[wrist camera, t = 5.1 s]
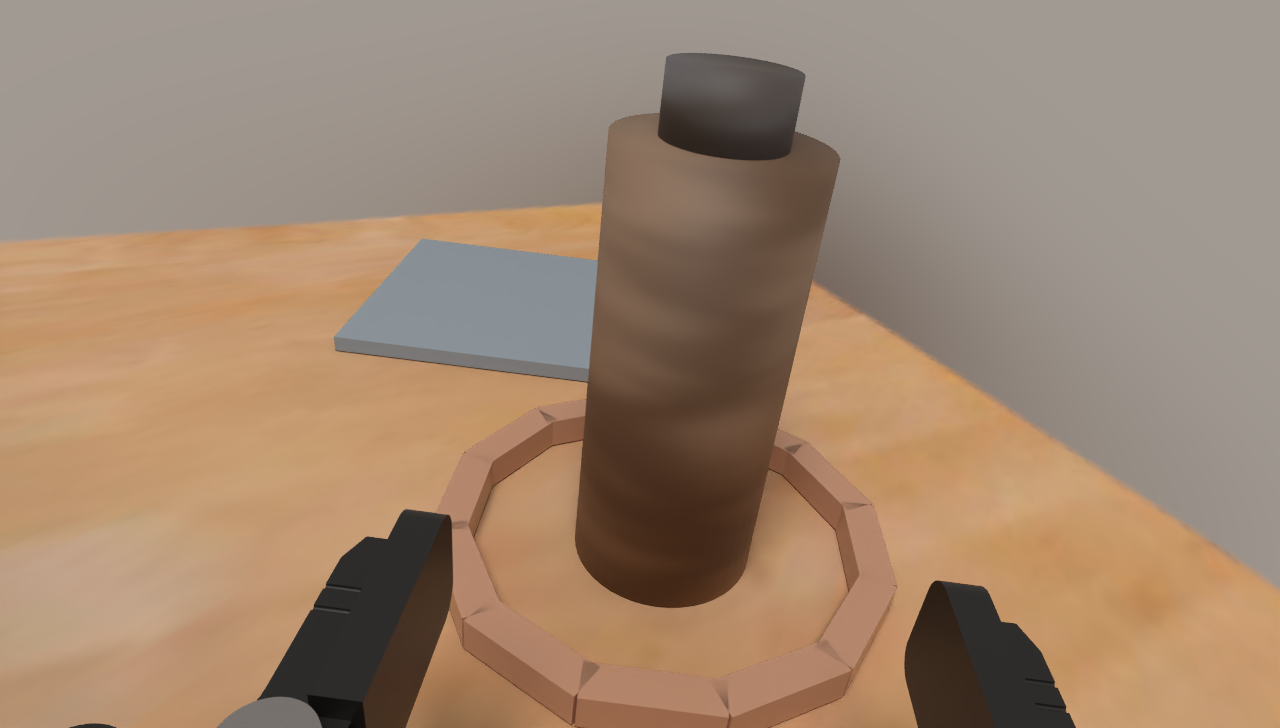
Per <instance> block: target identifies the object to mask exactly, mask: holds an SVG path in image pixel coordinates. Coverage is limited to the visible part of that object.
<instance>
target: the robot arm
mask: <svg viewBox="0 0 1280 728" xmlns="http://www.w3.org/2000/svg"><path fill="white" fill-rule="evenodd" d="M452 590H453V549H452V520H451V517H450V515H446V514H439V513H431V512H423V511H416V510H408V509H406V510H404V511H403V512H402V513H401V514H400V516H399V518H398V520H397V522H396V524H395V526H394V528H393V530H392V532H391V533H390V535H389V537H388V539H382V538H374V537H366V538H364V539H363V540H362V541H361V542H359V543H358V544H357V545H356V546H355V547H353V548H352V549H351V550H350V551H348V552H347V553H346V554H345V555H344V556H342V557H341V559H340V560H339V562H338V564H337V565H336V567H335V569H334V571H333V572H332V574H331V576H330V578H329V579H328V581H327V583H326V587H325V589H323V590H322V591H321V593H320V595H319V597H318V598H317V600H316V602H315V604H314V608H313V610H311V611H310V612H309V614H308V616H307V617H306V619H305V621H304V623H303V624H302V626H301V628H300V630H299V631H298V633H297V635H296V637H295V638H294V640H293V642H292V643H291V645H290V647H289V649H288V650H287V652H286V654H285V656H284V657H283V659H282V661H281V663H280V664H279V666H278V668H277V669H276V671H275V673H274V675H273V676H272V678H271V680H270V682H269V683H268V685H267V687H266V689H265V690H264V691H263V693H262V694H261V696H260V697H259V698H258V700H257V701H255V702H252V703H250V704H248V705H246V706H243V707H242V708H240V709H238V710H237V711H235V712H233V713H232V714H231V715H230V716H228V717H227V718H226V719H225V720H224V721H223V722H222V723H221V724H220V725H219V726H218V727H217V728H405V727H406V725H407V722H408V719H409V717H410V714H411V711H412V709H413V706H414V703H415V701H416V698H417V695H418V693H419V690H420V687H421V685H422V682H423V679H424V677H425V674H426V671H427V669H428V666H429V663H430V661H431V658H432V655H433V653H434V650H435V647H436V645H437V642H438V639H439V637H440V634H441V631H442V629H443V626H444V623H445V620H446V618H447V614H448V611H449V607H450V602H451V597H452ZM905 678H906V683H907V687H908V691H909V694H910V698H911V702H912V706H913V710H914V713H915V717H916V721H917V725H918V728H1076V727H1075V725H1074V723H1073V720H1072V718H1071V716H1070V714H1069V713H1066V705H1065V703H1064V701H1063V699H1062V696H1061V694H1060V692H1059V690H1058V688H1055V686H1054V683H1055V681H1054V679H1053V677H1052V675H1051V672H1050V670H1049V668H1048V666H1047V664H1046V662H1045V659H1044V657H1043V655H1042V653H1041V651H1040V650H1039V649H1038V648H1037V647H1036V646H1035V644H1034V643H1033V642H1032V641H1031V640H1030V639H1029V638H1028V637H1027V635H1026V634H1025V633H1024V632H1023V631H1022V630H1021V629H1020V628H1019V626H1018V625H1017V624H1014V623H1006V622H1001V620H1000V618H999V616H998V613H997V611H996V609H995V606H994V604H993V601H992V599H991V597H990V595H989V593H988V591H987V590H986V589H985V588H984V587H982V586H975V585H968V584H960V583H953V582H945V581H934V582H933V583H932V584H931V586H930V588H929V590H928V593H927V595H926V598H925V600H924V602H923V605H922V607H921V610H920V612H919V615H918V617H917V620H916V622H915V625H914V627H913V630H912V632H911V635H910V637H909V640H908V642H907V646H906V651H905ZM70 728H116V727H113V726H110V725H105V724H84V725H78V726H74V727H70Z"/></svg>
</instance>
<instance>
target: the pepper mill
mask: <svg viewBox="0 0 1280 728" xmlns="http://www.w3.org/2000/svg"><path fill="white" fill-rule="evenodd" d="M804 81H805V74H804V73H802V72H801V71H799V70H797V69H794V68H791V67H788V66H784V65H780V64H776V63H772V62H768V61H762V60H757V59H751V58H745V57H738V56H730V55H719V54H706V53H704V54H703V53H680V54H672V55H669V56H667V57H666V65H665V73H664V81H663V82H664V83H663V90H662V99H661V108H660V113H654V114H642V115H635V116H629V117H626V118H622V119H620V120H617V121H615V122H614V123H612V124H611V125H610V127H609V131H608V143H607V155H606V168H605V180H604V181H605V182H604V192H603V204H602V216H601V229H600V241H599V253H598V265H597V277H596V289H595V302H594V314H593V326H592V338H591V350H590V363H589V375H588V387H587V399H586V411H585V424H584V436H583V448H582V460H581V472H580V484H579V497H578V509H577V521H576V533H575V542H576V548H577V552H578V555H579V557H580V559H581V562H582V563H583V565H584V566H585V568H586V569H587V571H588V572H589V573H590V574H591V575H592V576H593V577H594V578H595V579H596V580H597V581H598V582H599V583H601V584H602V585H603V586H605V587H606V588H608V589H609V590H611V591H612V592H614V593H616V594H618V595H620V596H622V597H624V598H627V599H629V600H632V601H635V602H639V603H642V604H646V605H652V606H658V607H686V606H694V605H698V604H702V603H705V602H708V601H710V600H713V599H715V598H717V597H719V596H721V595H723V594H724V593H725V592H727V591H728V590H729V589H731V588H732V587H733V586H734V585H735V584H736V583H737V581H738V580H739V579H740V577H741V576H742V574H743V571H744V569H745V566H746V562H747V557H748V553H749V549H750V545H751V540H752V536H753V532H754V527H755V523H756V519H757V515H758V510H759V506H760V502H761V497H762V493H763V489H764V485H765V480H766V476H767V472H768V467H769V463H770V459H771V455H772V450H773V446H774V442H775V437H776V433H777V429H778V425H779V420H780V416H781V412H782V407H783V403H784V399H785V395H786V390H787V386H788V382H789V377H790V373H791V369H792V365H793V360H794V356H795V352H796V347H797V343H798V339H799V335H800V330H801V326H802V322H803V317H804V313H805V309H806V305H807V300H808V296H809V292H810V287H811V283H812V279H813V274H814V270H815V266H816V262H817V257H818V253H819V249H820V245H821V240H822V236H823V232H824V227H825V223H826V219H827V214H828V210H829V206H830V202H831V197H832V193H833V189H834V184H835V180H836V176H837V172H838V167H839V163H840V157H839V155H838V153H837V152H836V151H835V150H833V149H832V148H831V147H829V146H828V145H826V144H824V143H822V142H820V141H818V140H816V139H814V138H811V137H809V136H807V135H804V134H801V133H798V132H795V126H796V121H797V116H798V111H799V106H800V101H801V96H802V91H803V86H804Z"/></svg>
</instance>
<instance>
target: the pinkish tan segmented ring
mask: <svg viewBox="0 0 1280 728" xmlns="http://www.w3.org/2000/svg"><path fill="white" fill-rule="evenodd" d="M585 411H586V399H582V400H577V401H571V402H565V403H559V404H553V405H547V406H541V407H537V409H536V408H534V409H533V410H531V411H529V412H528V413H526V414H525V415H523V416H521V417H520V418H518V419H516V420H515V421H513V422H512V423H510V424H508V425H507V426H505V427H503V428H502V429H500V430H499V431H497V432H495V433H494V434H492V435H490V436H489V437H487V438H486V439H484V440H482V441H481V442H479V443H478V444H476V445H474V446H473V447H471V448H469V449H468V450H466V451H465V452H464V453H463V454H462V456H461V459H460V461H459V463H458V465H457V467H456V470H455V472H454V474H453V476H452V478H451V481H450V483H449V485H448V487H447V489H446V492H445V494H444V496H443V498H442V500H441V503H440V505H439V507H438V509H437V511H436V513H439V514H446V515H450V517H451V520H452V549H453V590H452V597H451V602H450V607H449V608H450V611H451V614H452V617H453V620H454V623H455V626H456V629H457V632H458V635H459V638H460V641H461V644H462V646H464V649H466V650H467V651H468V652H470V653H471V654H473V655H474V656H475V657H477V658H478V659H480V660H481V661H482V662H484V663H485V664H487V665H488V666H489V667H491V668H492V669H494V670H495V671H496V672H498V673H499V674H501V675H502V676H503V677H505V678H506V679H508V680H509V681H510V682H512V683H513V684H515V685H516V686H517V687H519V688H520V689H522V690H523V691H524V692H526V693H527V694H528V695H530V696H531V697H533V698H534V699H535V700H537V701H538V702H540V703H541V704H542V705H544V706H545V707H547V708H548V709H549V710H551V711H552V712H554V713H555V714H556V715H558V716H559V717H561V718H562V719H563V720H565V721H566V722H568V723H569V724H570V725H572V724H573V723H574V721H575V726H576V727H583V728H769V727H771V726H773V725H776V724H778V723H781V722H783V721H786V720H788V719H791V718H793V717H795V716H798V715H800V714H803V713H805V712H808V711H810V710H813V709H815V708H817V707H820V706H822V705H825V704H827V703H830V702H832V701H834V700H837V699H839V698H842V696H844V694H845V693H846V691H847V689H848V687H849V685H850V683H851V681H852V679H853V677H854V676H855V674H856V672H857V670H858V668H859V666H860V664H861V662H862V660H863V659H864V657H865V655H866V653H867V651H868V649H869V647H870V645H871V643H872V642H873V640H874V638H875V636H876V634H877V632H878V630H879V628H880V626H881V625H882V623H883V621H884V619H885V617H886V615H887V613H888V611H889V608H890V605H891V603H892V600H893V597H894V594H895V592H896V589H897V583H896V579H895V576H894V573H893V569H892V566H891V562H890V559H889V556H888V552H887V549H886V545H885V542H884V539H883V535H882V532H881V528H880V525H879V521H878V518H877V515H876V511H875V508H874V505H872V504H873V503H872V502H871V501H869V500H868V499H867V498H866V497H865V496H864V495H863V494H862V493H861V492H860V491H859V490H858V489H857V488H856V487H855V486H854V485H853V484H851V483H850V482H849V481H848V480H847V479H846V478H845V477H844V476H843V475H842V474H841V473H840V472H839V471H838V470H837V469H836V468H835V467H833V466H832V465H831V464H830V463H829V462H828V461H827V460H826V459H825V458H824V457H823V456H822V455H821V454H820V453H819V452H818V451H817V450H815V449H814V448H813V447H812V446H811V445H810V444H809V443H808V442H807V443H806V441H805V440H802V439H800V438H798V437H795V436H793V435H791V434H788V433H786V432H784V431H781V430H779V429H777V433H776V437H775V442H774V446H773V450H772V455H771V459H770V463H769V467H768V468H769V469H771V470H773V471H776V472H778V473H780V474H782V475H783V476H784V477H785V478H786V479H787V480H788V481H789V482H790V483H791V484H792V485H793V486H794V487H795V488H796V489H797V490H798V491H799V492H800V493H801V494H802V495H803V497H804V498H805V499H806V500H807V501H808V502H809V503H810V504H811V505H812V506H813V507H814V508H815V509H816V510H817V511H818V512H819V513H820V514H821V515H822V516H823V517H824V518H825V519H826V520H827V522H828V523H829V524H830V525H831V526H832V527H833V528H834V529H835V530H836V534H837V538H838V543H839V547H840V552H841V556H842V561H843V566H844V570H845V575H846V579H847V584H848V589H849V593H848V595H847V596H846V598H845V600H844V601H843V603H842V605H841V606H840V608H839V609H838V611H837V613H836V614H835V616H834V618H833V619H832V621H831V623H830V624H829V626H828V627H827V629H826V631H825V632H824V634H823V636H822V637H821V639H820V641H819V642H817V643H814V644H811V645H809V646H806V647H803V648H800V649H798V650H795V651H792V652H789V653H787V654H784V655H781V656H778V657H776V658H773V659H770V660H767V661H765V662H762V663H759V664H757V665H754V666H751V667H748V668H746V669H743V670H740V671H737V672H735V673H732V674H729V675H726V676H724V677H721V678H710V677H703V676H695V675H687V674H679V673H672V672H664V671H656V670H649V669H641V668H633V667H625V666H618V665H610V664H602V663H595V662H592V661H590V660H589V659H587V658H586V657H584V656H583V655H581V654H580V653H578V652H577V651H575V650H573V649H572V648H570V647H569V646H567V645H566V644H564V643H563V642H561V641H560V640H558V639H557V638H555V637H554V636H552V635H551V634H549V633H548V632H546V631H545V630H543V629H542V628H540V627H539V626H537V625H536V624H534V623H532V622H531V621H529V620H528V619H526V618H525V617H523V616H522V615H520V614H519V613H517V612H516V611H514V610H513V609H511V608H510V607H508V606H507V605H505V604H504V603H502V602H501V601H499V599H498V596H497V594H496V592H495V589H494V587H493V584H492V582H491V580H490V577H489V575H488V572H487V570H486V567H485V565H484V563H483V560H482V558H481V555H480V553H479V550H478V548H477V546H476V543H475V541H474V538H473V537H474V534H475V532H476V529H477V526H478V524H479V521H480V518H481V516H482V513H483V510H484V508H485V505H486V502H487V500H488V497H489V494H490V492H491V489H492V486H494V485H495V484H497V483H498V482H500V481H501V480H502V479H504V478H505V477H507V476H508V475H510V474H511V473H513V472H514V471H516V470H517V469H518V468H520V467H521V466H523V465H524V464H526V463H527V462H529V461H530V460H532V459H533V458H534V457H536V456H537V455H539V454H540V453H542V452H543V451H545V450H546V449H547V448H549V447H550V446H552V445H557V444H562V443H567V442H572V441H577V440H583V436H584V424H585Z"/></svg>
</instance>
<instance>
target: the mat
mask: <svg viewBox="0 0 1280 728" xmlns="http://www.w3.org/2000/svg"><path fill="white" fill-rule="evenodd" d="M597 265H598V261H597V260H589V259H581V258H573V257H565V256H557V255H549V254H541V253H532V252H524V251H516V250H508V249H500V248H492V247H484V246H476V245H468V244H460V243H452V242H444V241H436V240H428V239H421V240H420V241H419V243H418V244H417V245H416V246H415V247H414V248H413V249H412V250H411V252H410V253H409V254H408V255H407V256H406V257H405V258H404V259H403V260H402V262H401V263H400V264H399V265H398V266H397V267H396V268H395V269H394V271H393V272H392V273H391V274H390V275H389V276H388V277H387V278H386V279H385V281H384V282H383V283H382V284H381V285H380V286H379V287H378V288H377V289H376V291H375V292H374V293H373V294H372V295H371V296H370V297H369V298H368V300H367V301H366V302H365V303H364V304H363V305H362V306H361V307H360V308H359V310H358V311H357V312H356V313H355V314H354V315H353V316H352V317H351V319H350V320H349V321H348V322H347V323H346V324H345V325H344V326H343V327H342V329H341V330H340V331H339V332H338V333H337V334H336V335H335V336H334V341H335V350H338V351H346V352H354V353H362V354H370V355H378V356H386V357H394V358H402V359H410V360H418V361H426V362H434V363H442V364H450V365H458V366H466V367H474V368H482V369H490V370H497V371H505V372H513V373H521V374H529V375H537V376H545V377H553V378H561V379H569V380H577V381H585V382H588V375H589V363H590V350H591V338H592V326H593V314H594V302H595V289H596V277H597Z"/></svg>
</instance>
